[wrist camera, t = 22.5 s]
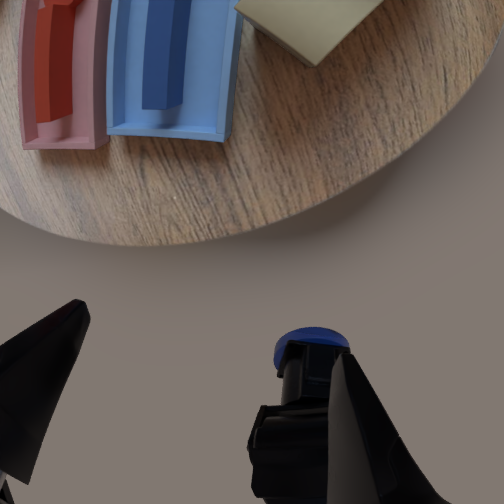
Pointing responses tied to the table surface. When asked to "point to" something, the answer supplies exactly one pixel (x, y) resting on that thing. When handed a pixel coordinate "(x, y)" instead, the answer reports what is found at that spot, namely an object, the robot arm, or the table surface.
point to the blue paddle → (165, 53)
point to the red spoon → (54, 59)
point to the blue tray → (195, 76)
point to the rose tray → (83, 81)
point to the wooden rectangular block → (306, 23)
